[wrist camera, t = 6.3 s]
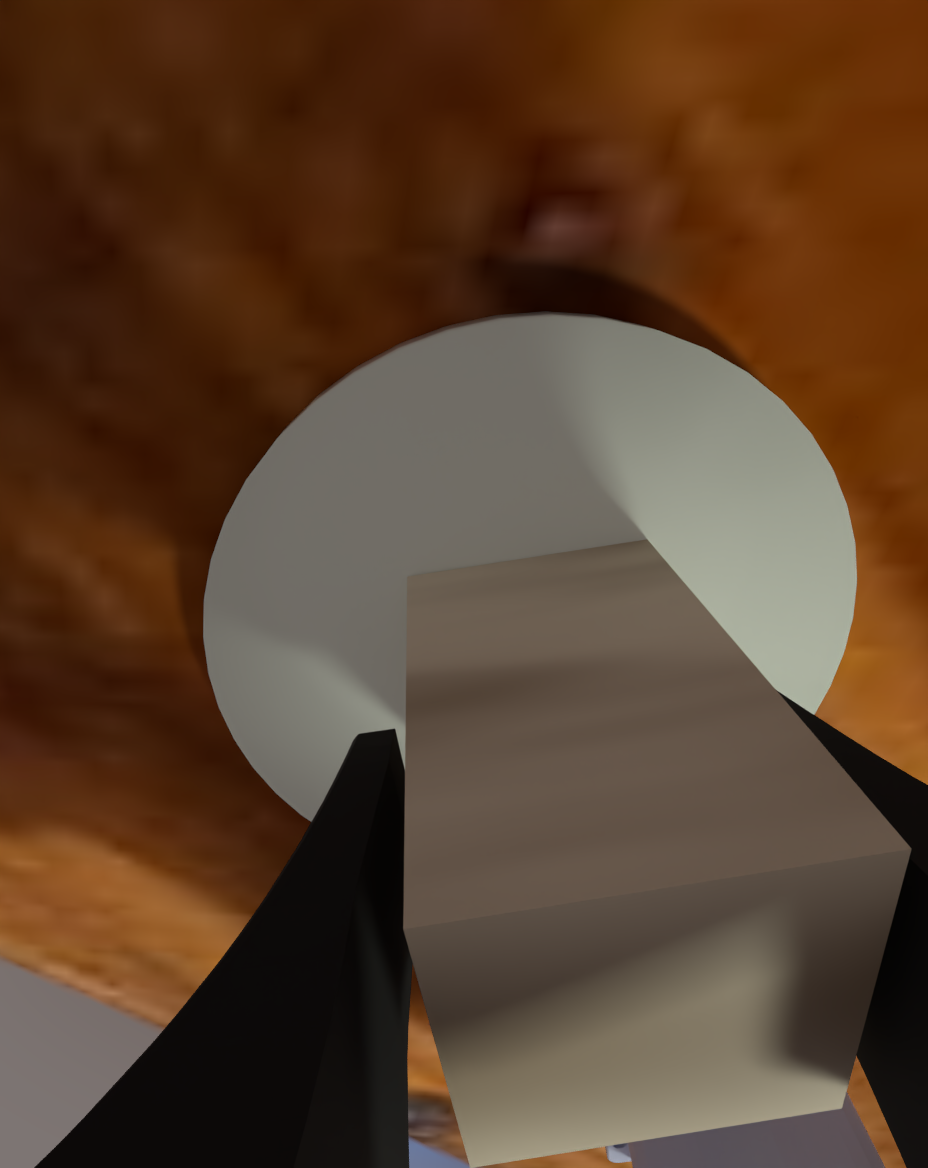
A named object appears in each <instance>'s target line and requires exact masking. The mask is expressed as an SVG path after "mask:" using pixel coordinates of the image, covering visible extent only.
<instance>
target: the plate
mask: <svg viewBox="0 0 928 1168" xmlns="http://www.w3.org/2000/svg"><path fill="white" fill-rule="evenodd" d="M646 539H647V540H648V541H649V542H650V543H651V544H652V545H653V547H654V548H655V549H656V550H657V551H658V552H659V554H660V555H661V556H662V557H663V558H664V559H665V561H666V562H667V563H668V564H669V565H670V566H671V568H672V569H673V570H674V571H675V572H676V573H677V575H678V576H679V577H680V578H681V579H682V581H683V582H684V583H685V584H686V585H687V586H688V588H689V589H690V590H691V591H692V592H693V593H694V595H695V596H696V597H697V598H698V599H699V600H700V602H701V603H702V604H703V605H704V606H705V607H706V609H707V610H708V611H709V612H710V613H711V614H712V616H713V617H714V618H715V619H716V620H717V622H718V623H719V624H720V625H721V626H722V627H723V629H724V630H725V631H726V632H727V633H728V634H729V636H730V637H731V638H732V639H733V640H734V641H735V643H736V644H737V645H738V646H739V647H740V648H741V650H742V651H743V652H744V653H745V654H746V655H747V657H748V658H749V659H750V660H751V661H752V663H753V664H754V665H755V666H756V667H757V668H758V670H759V671H760V672H761V673H762V674H763V675H764V677H765V678H766V679H767V680H768V681H769V682H770V684H771V685H772V686H773V687H774V688H775V689H776V690H777V691H778V692H780V693H782V694H783V695H785V696H786V697H788V698H789V699H791V700H792V701H794V702H795V703H797V704H798V705H800V706H801V707H803V708H804V709H806V710H807V711H809V712H810V713H812V714H813V715H814V714H815V712H816V711H817V709H818V707H819V705H820V704H821V702H822V700H823V698H824V696H825V695H826V693H827V691H828V689H829V687H830V686H831V683H832V681H833V678H834V676H835V673H836V671H837V669H838V666H839V664H840V661H841V659H842V656H843V654H844V651H845V647H846V643H847V639H848V635H849V631H850V627H851V623H852V619H853V613H854V604H855V594H856V585H857V571H856V550H855V540H854V535H853V531H852V526H851V521H850V516H849V512H848V507H847V504H846V501H845V499H844V496H843V494H842V491H841V489H840V486H839V484H838V481H837V479H836V476H835V473H834V471H833V469H832V467H831V465H830V464H829V462H828V460H827V459H826V457H825V455H824V454H823V452H822V450H821V449H820V447H819V446H818V444H817V442H816V441H815V439H814V437H813V436H812V434H811V433H810V432H809V431H808V429H807V428H806V427H805V426H804V425H803V424H802V422H801V421H800V420H799V419H798V418H797V417H796V416H795V414H794V413H793V412H792V411H791V410H790V409H789V408H788V406H787V405H786V404H785V403H784V402H783V401H782V400H781V399H780V398H778V397H777V396H776V395H775V394H774V393H772V392H771V391H770V390H769V389H767V388H766V387H765V386H764V385H763V384H761V383H760V382H759V381H758V380H756V379H755V378H754V377H753V376H752V375H750V374H749V373H748V372H746V371H744V370H743V369H741V368H739V367H737V366H736V365H734V364H732V363H730V362H729V361H727V360H725V359H724V358H722V357H720V356H718V355H717V354H715V353H713V352H711V351H710V350H708V349H706V348H703V347H701V346H698V345H695V344H693V343H690V342H688V341H685V340H682V339H680V338H677V337H674V336H672V335H669V334H667V333H664V332H661V331H659V330H655V329H652V328H649V327H646V326H643V325H640V324H635V323H631V322H626V321H621V320H617V319H612V318H608V317H603V316H598V315H592V314H578V313H563V312H548V311H543V312H530V313H517V314H504V315H494V316H489V317H485V318H480V319H476V320H471V321H467V322H462V323H458V324H453V325H448V326H445V327H442V328H440V329H437V330H434V331H432V332H429V333H426V334H423V335H421V336H418V337H415V338H413V339H410V340H407V341H405V342H402V343H399V344H398V345H396V346H394V347H392V348H390V349H388V350H386V351H385V352H383V353H381V354H379V355H377V356H375V357H374V358H372V359H370V360H368V361H366V362H364V363H362V364H361V365H359V366H357V367H355V368H354V369H353V370H351V371H350V372H349V373H347V374H346V375H345V376H343V377H342V378H341V379H339V380H338V381H337V382H335V383H334V384H333V385H331V386H330V387H328V388H327V389H326V390H324V391H323V392H322V393H320V394H319V395H318V396H317V397H316V398H315V399H314V400H313V401H312V402H311V403H310V404H309V405H308V406H307V407H306V408H305V409H304V410H303V411H302V412H301V413H300V414H299V415H298V416H297V417H296V418H295V419H294V420H293V421H292V422H291V423H290V424H289V425H288V426H287V427H286V428H285V429H284V430H283V431H282V433H281V434H280V435H279V437H278V438H277V439H276V441H275V442H274V443H273V444H272V446H271V447H270V448H269V450H268V451H267V453H266V454H265V455H264V457H263V458H262V459H261V461H260V462H259V463H258V465H257V466H256V467H255V469H254V470H253V471H252V473H251V474H250V475H249V477H248V478H247V479H246V481H245V483H244V485H243V486H242V488H241V490H240V492H239V494H238V496H237V498H236V499H235V501H234V503H233V505H232V507H231V509H230V511H229V513H228V514H227V516H226V518H225V520H224V523H223V526H222V529H221V532H220V535H219V538H218V541H217V543H216V546H215V549H214V552H213V555H212V558H211V562H210V567H209V573H208V579H207V584H206V590H205V595H204V620H203V639H204V646H205V653H206V660H207V667H208V674H209V677H210V681H211V684H212V687H213V690H214V694H215V697H216V700H217V703H218V707H219V709H220V711H221V713H222V716H223V718H224V720H225V722H226V724H227V726H228V728H229V730H230V732H231V734H232V736H233V738H234V740H235V742H236V743H237V745H238V746H239V748H240V749H241V751H242V752H243V754H244V755H245V756H246V758H247V759H248V761H249V762H250V764H251V765H252V767H253V768H254V769H255V770H256V772H257V773H258V774H259V775H260V776H261V777H262V778H263V779H264V781H265V782H266V783H267V784H268V785H269V786H270V787H271V788H272V790H273V791H274V792H275V793H276V794H277V795H278V796H280V797H281V798H282V799H283V800H284V801H285V802H287V803H288V804H289V805H290V806H291V807H292V808H293V809H295V810H296V811H297V812H298V813H299V814H300V815H302V816H303V817H305V818H306V819H308V820H309V821H311V822H312V820H313V818H314V817H315V815H316V813H317V811H318V809H319V808H320V806H321V804H322V802H323V800H324V799H325V797H326V795H327V793H328V791H329V789H330V787H331V785H332V783H333V781H334V779H335V777H336V775H337V773H338V771H339V769H340V767H341V765H342V763H343V761H344V759H345V757H346V755H347V753H348V750H349V748H350V746H351V744H352V742H353V740H354V739H355V737H356V736H357V735H358V734H360V733H367V732H374V731H381V730H388V729H395V730H396V734H397V739H398V743H399V747H400V752H401V756H402V760H403V764H404V769H405V736H406V646H407V577H408V576H415V575H421V574H427V573H434V572H440V571H447V570H453V569H460V568H466V567H472V566H479V565H485V564H492V563H498V562H505V561H511V560H517V559H524V558H530V557H537V556H543V555H550V554H556V553H562V552H569V551H575V550H582V549H588V548H595V547H601V546H607V545H614V544H620V543H627V542H633V541H640V540H646Z"/></svg>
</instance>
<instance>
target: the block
mask: <svg viewBox="0 0 928 1168" xmlns="http://www.w3.org/2000/svg"><path fill="white" fill-rule="evenodd" d="M910 853H911V848H910V846H909V845H908V844H907V843H906V842H905V841H904V839H903V838H902V837H901V836H900V835H899V834H898V832H897V831H896V830H895V829H894V828H893V827H892V825H891V824H890V823H889V822H888V821H887V820H886V818H885V817H884V816H883V815H882V814H881V812H880V811H879V810H878V809H877V808H876V807H875V805H874V804H873V803H872V802H871V801H870V800H869V798H868V797H867V796H866V795H865V794H864V793H863V791H862V790H861V789H860V788H859V787H858V786H857V784H856V783H855V782H854V781H853V780H852V779H851V777H850V776H849V775H848V774H847V773H846V771H845V770H844V769H843V768H842V767H841V766H840V764H839V763H838V762H837V761H836V760H835V759H834V757H833V756H832V755H831V754H830V753H829V752H828V750H827V749H826V748H825V747H824V746H823V745H822V743H821V742H820V741H819V740H818V739H817V738H816V736H815V735H814V734H813V733H812V732H811V730H810V729H809V728H808V727H807V726H806V725H805V723H804V722H803V721H802V720H801V719H800V718H799V716H798V715H797V714H796V713H795V712H794V711H793V709H792V708H791V707H790V706H789V705H788V704H787V702H786V701H785V700H784V699H783V698H782V696H781V695H780V694H779V693H778V692H777V691H776V689H775V688H774V687H773V686H772V685H771V684H770V682H769V681H768V680H767V679H766V678H765V677H764V675H763V674H762V673H761V672H760V671H759V670H758V668H757V667H756V666H755V665H754V664H753V663H752V661H751V660H750V659H749V658H748V657H747V655H746V654H745V653H744V652H743V651H742V650H741V648H740V647H739V646H738V645H737V644H736V643H735V641H734V640H733V639H732V638H731V637H730V636H729V634H728V633H727V632H726V631H725V630H724V629H723V627H722V626H721V625H720V624H719V623H718V622H717V620H716V619H715V618H714V617H713V616H712V614H711V613H710V612H709V611H708V610H707V609H706V607H705V606H704V605H703V604H702V603H701V602H700V600H699V599H698V598H697V597H696V596H695V595H694V593H693V592H692V591H691V590H690V589H689V588H688V586H687V585H686V584H685V583H684V582H683V581H682V579H681V578H680V577H679V576H678V575H677V573H676V572H675V571H674V570H673V569H672V568H671V566H670V565H669V564H668V563H667V562H666V561H665V559H664V558H663V557H662V556H661V555H660V554H659V552H658V551H657V550H656V549H655V548H654V547H653V545H652V544H651V543H650V542H649V541H648V540H647V539H646V540H640V541H633V542H627V543H620V544H614V545H607V546H601V547H595V548H588V549H582V550H575V551H569V552H562V553H556V554H550V555H543V556H537V557H530V558H524V559H517V560H511V561H505V562H498V563H492V564H485V565H479V566H472V567H466V568H460V569H453V570H447V571H440V572H434V573H427V574H421V575H415V576H408V577H407V646H406V736H405V825H404V915H403V930H404V933H405V937H406V941H407V944H408V948H409V951H410V955H411V958H412V962H413V965H414V969H415V973H416V976H417V980H418V983H419V987H420V990H421V994H422V997H423V1001H424V1005H425V1008H426V1012H427V1015H428V1019H429V1022H430V1026H431V1029H432V1033H433V1037H434V1040H435V1044H436V1047H437V1051H438V1054H439V1058H440V1061H441V1065H442V1069H443V1072H444V1076H445V1079H446V1083H447V1086H448V1090H449V1093H450V1097H451V1101H452V1104H453V1108H454V1111H455V1115H456V1118H457V1122H458V1125H459V1129H460V1133H461V1136H462V1140H463V1143H464V1147H465V1150H466V1154H467V1157H468V1161H469V1165H470V1168H473V1167H480V1166H486V1165H492V1164H498V1163H505V1162H511V1161H517V1160H523V1159H530V1158H536V1157H542V1156H548V1155H555V1154H561V1153H567V1152H573V1151H580V1150H586V1149H592V1148H598V1147H604V1146H611V1145H617V1144H623V1143H629V1142H636V1141H642V1140H648V1139H654V1138H661V1137H667V1136H673V1135H679V1134H686V1133H692V1132H698V1131H704V1130H711V1129H717V1128H723V1127H729V1126H736V1125H742V1124H748V1123H754V1122H761V1121H767V1120H773V1119H779V1118H786V1117H792V1116H798V1115H804V1114H811V1113H817V1112H823V1111H829V1110H836V1109H842V1106H843V1103H844V1099H845V1095H846V1091H847V1088H848V1084H849V1080H850V1076H851V1073H852V1069H853V1065H854V1062H855V1058H856V1054H857V1050H858V1047H859V1043H860V1039H861V1036H862V1032H863V1028H864V1024H865V1021H866V1017H867V1013H868V1009H869V1006H870V1002H871V998H872V995H873V991H874V987H875V983H876V980H877V976H878V972H879V969H880V965H881V961H882V957H883V954H884V950H885V946H886V942H887V939H888V935H889V931H890V928H891V924H892V920H893V916H894V913H895V909H896V905H897V901H898V898H899V894H900V890H901V887H902V883H903V879H904V875H905V872H906V868H907V864H908V861H909V857H910Z"/></svg>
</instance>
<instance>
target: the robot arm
mask: <svg viewBox="0 0 928 1168" xmlns="http://www.w3.org/2000/svg"><path fill="white" fill-rule="evenodd" d="M776 691H777V690H776ZM777 692H778V691H777ZM778 693H779V694H780V695H781V696H782V698H783V699H784V700H785V701H786V702H787V704H788V705H789V706H790V707H791V708H792V709H793V711H794V712H795V713H796V714H797V715H798V716H799V718H800V719H801V720H802V721H803V722H804V723H805V725H806V726H807V727H808V728H809V729H810V730H811V732H812V733H813V734H814V735H815V736H816V738H817V739H818V740H819V741H820V742H821V743H822V745H823V746H824V747H825V748H826V749H827V750H828V752H829V753H830V754H831V755H832V756H833V757H834V759H835V760H836V761H837V762H838V763H839V764H840V766H841V767H842V768H843V769H844V770H845V771H846V773H847V774H848V775H849V776H850V777H851V779H852V780H853V781H854V782H855V783H856V784H857V786H858V787H859V788H860V789H861V790H862V791H863V793H864V794H865V795H866V796H867V797H868V798H869V800H870V801H871V802H872V803H873V804H874V805H875V807H876V808H877V809H878V810H879V811H880V812H881V814H882V815H883V816H884V817H885V818H886V820H887V821H888V822H889V823H890V824H891V825H892V827H893V828H894V829H895V830H896V831H897V832H898V834H899V835H900V836H901V837H902V838H903V839H904V841H905V842H906V843H907V844H908V845H909V846H910V848H911V853H910V857H909V861H908V864H907V868H906V872H905V875H904V879H903V883H902V887H901V890H900V894H899V898H898V901H897V905H896V909H895V913H894V916H893V920H892V924H891V928H890V931H889V935H888V939H887V942H886V946H885V950H884V954H883V957H882V961H881V965H880V969H879V972H878V976H877V980H876V983H875V987H874V991H873V995H872V998H871V1002H870V1006H869V1009H868V1013H867V1017H866V1021H865V1024H864V1028H863V1032H862V1036H861V1039H860V1043H859V1047H858V1050H857V1054H856V1055H857V1057H858V1059H859V1062H860V1064H861V1066H862V1068H863V1070H864V1072H865V1075H866V1077H867V1079H868V1081H869V1084H870V1086H871V1088H872V1090H873V1093H874V1095H875V1097H876V1099H877V1102H878V1104H879V1106H880V1108H881V1111H882V1113H883V1115H884V1117H885V1120H886V1122H887V1124H888V1126H889V1129H890V1131H891V1133H892V1135H893V1138H894V1140H895V1142H896V1144H897V1147H898V1149H899V1151H900V1153H901V1156H902V1158H903V1160H904V1163H905V1165H906V1167H907V1168H928V785H926V784H925V783H923V782H921V781H919V780H918V779H916V778H914V777H912V776H911V775H909V774H907V773H906V772H904V771H902V770H901V769H899V768H897V767H896V766H894V765H892V764H891V763H889V762H887V761H886V760H884V759H882V758H881V757H879V756H878V755H876V754H874V753H873V752H871V751H869V750H868V749H866V748H865V747H863V746H861V745H860V744H858V743H857V742H855V741H854V740H852V739H850V738H849V737H847V736H846V735H844V734H843V733H841V732H839V731H838V730H836V729H835V728H833V727H832V726H830V725H829V724H827V723H826V722H824V721H823V720H821V719H819V718H818V717H816V716H815V715H813V714H812V713H810V712H809V711H807V710H806V709H804V708H803V707H801V706H800V705H798V704H797V703H795V702H794V701H792V700H791V699H789V698H788V697H786V696H785V695H783V694H782V693H780V692H778ZM404 825H405V769H404V764H403V760H402V756H401V752H400V747H399V743H398V739H397V734H396V730H395V729H388V730H381V731H374V732H367V733H360V734H358V735H357V736H356V737H355V739H354V740H353V742H352V744H351V746H350V748H349V750H348V753H347V755H346V757H345V759H344V761H343V763H342V765H341V767H340V769H339V771H338V773H337V775H336V777H335V779H334V781H333V783H332V785H331V787H330V789H329V791H328V793H327V795H326V797H325V799H324V800H323V802H322V804H321V806H320V808H319V809H318V811H317V813H316V815H315V817H314V818H313V820H312V822H311V824H310V825H309V827H308V829H307V831H306V833H305V834H304V836H303V838H302V840H301V841H300V843H299V845H298V846H297V848H296V850H295V851H294V853H293V855H292V856H291V858H290V859H289V861H288V862H287V864H286V866H285V867H284V869H283V870H282V872H281V874H280V875H279V877H278V878H277V880H276V881H275V883H274V885H273V886H272V888H271V889H270V891H269V892H268V894H267V896H266V897H265V899H264V900H263V901H262V903H261V904H260V906H259V907H258V909H257V910H256V912H255V913H254V915H253V916H252V918H251V919H250V920H249V922H248V923H247V925H246V926H245V927H244V929H243V930H242V932H241V933H240V934H239V936H238V937H237V938H236V940H235V941H234V942H233V944H232V945H231V946H230V948H229V949H228V950H227V952H226V953H225V955H224V956H223V957H222V959H221V960H220V961H219V962H218V964H217V965H216V966H215V968H214V969H213V970H212V971H211V973H210V974H209V975H208V976H207V978H206V979H205V980H204V981H203V983H202V984H201V985H200V986H199V988H198V989H197V990H196V991H195V993H194V994H193V995H192V996H191V998H190V999H189V1000H188V1001H187V1003H186V1004H185V1005H184V1006H183V1008H182V1009H181V1010H180V1011H179V1012H178V1014H177V1015H176V1016H175V1017H174V1018H173V1020H172V1021H171V1022H170V1023H169V1024H168V1025H167V1027H166V1028H165V1029H164V1030H163V1031H162V1033H161V1034H160V1035H159V1036H158V1037H157V1038H156V1040H155V1041H154V1042H153V1043H152V1044H151V1045H150V1046H149V1047H148V1048H147V1050H146V1051H145V1052H144V1053H143V1054H142V1055H141V1056H140V1057H139V1058H138V1059H137V1060H136V1062H135V1063H134V1064H133V1065H132V1066H131V1067H130V1068H129V1069H128V1070H127V1071H126V1072H125V1074H124V1075H123V1076H122V1077H121V1078H120V1079H119V1080H118V1081H117V1082H116V1083H115V1085H114V1086H113V1087H112V1088H111V1089H110V1090H109V1091H108V1092H107V1093H106V1094H105V1096H104V1097H103V1098H102V1099H101V1100H100V1101H99V1102H98V1103H97V1104H96V1105H95V1106H94V1107H93V1108H92V1110H91V1111H90V1112H89V1113H88V1114H87V1115H86V1116H85V1117H84V1118H83V1119H82V1120H81V1121H80V1122H79V1123H78V1124H77V1126H76V1127H75V1128H74V1129H73V1130H72V1131H71V1132H70V1133H69V1134H68V1135H67V1136H66V1137H65V1138H64V1139H63V1140H62V1141H61V1142H60V1143H59V1144H58V1145H57V1146H56V1147H55V1148H54V1149H53V1150H52V1151H51V1152H50V1153H49V1154H48V1155H47V1156H46V1157H45V1158H44V1159H43V1160H42V1161H41V1162H40V1163H39V1164H38V1165H37V1166H35V1168H409V1142H408V1077H407V1051H408V1022H409V1008H410V993H411V978H412V964H413V962H412V958H411V955H410V951H409V948H408V944H407V941H406V937H405V933H404V930H403V915H404ZM605 1148H606V1153H607V1158H608V1160H610V1161H611V1162H615V1163H621V1162H629V1161H632V1165H633V1168H885V1166H884V1164H883V1162H882V1160H881V1158H880V1156H879V1154H878V1152H877V1150H876V1149H875V1147H874V1145H873V1143H872V1141H871V1139H870V1137H869V1135H868V1133H867V1131H866V1129H865V1127H864V1125H863V1123H862V1121H861V1119H860V1117H859V1115H858V1113H857V1111H856V1109H855V1107H854V1105H853V1103H852V1101H851V1099H850V1097H849V1095H848V1093H847V1091H846V1095H845V1099H844V1103H843V1106H842V1109H836V1110H829V1111H823V1112H817V1113H811V1114H804V1115H798V1116H792V1117H786V1118H779V1119H773V1120H767V1121H761V1122H754V1123H748V1124H742V1125H736V1126H729V1127H723V1128H717V1129H711V1130H704V1131H698V1132H692V1133H686V1134H679V1135H673V1136H667V1137H661V1138H654V1139H648V1140H642V1141H636V1142H629V1143H623V1144H617V1145H611V1146H605Z"/></svg>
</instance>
